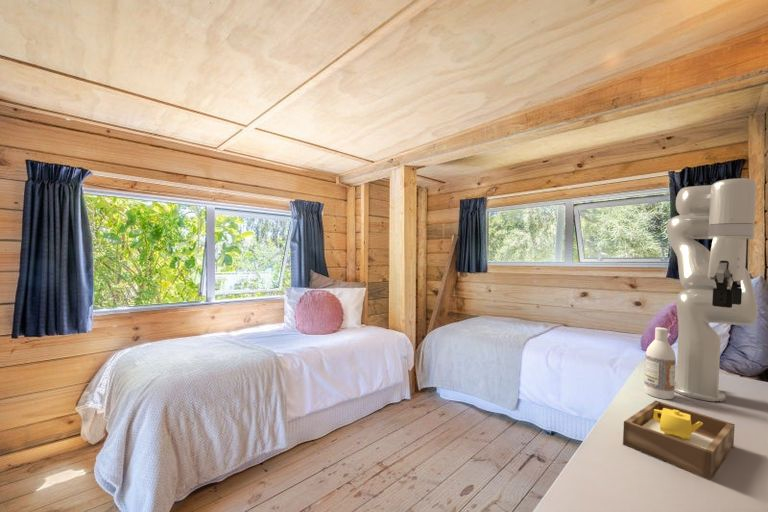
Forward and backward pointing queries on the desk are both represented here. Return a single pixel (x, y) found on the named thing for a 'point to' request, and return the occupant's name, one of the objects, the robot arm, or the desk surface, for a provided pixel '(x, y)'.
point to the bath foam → (660, 366)
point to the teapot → (676, 423)
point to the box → (678, 450)
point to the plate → (694, 439)
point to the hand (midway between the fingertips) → (727, 305)
